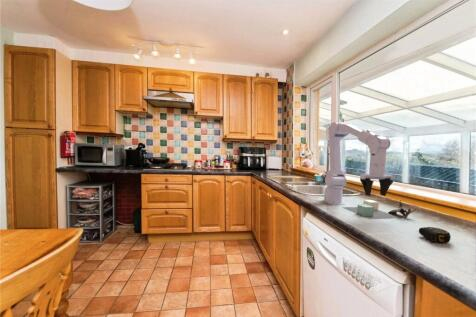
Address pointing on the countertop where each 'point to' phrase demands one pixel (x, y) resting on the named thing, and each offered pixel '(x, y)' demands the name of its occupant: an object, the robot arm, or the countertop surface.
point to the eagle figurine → (402, 210)
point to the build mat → (376, 214)
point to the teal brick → (365, 210)
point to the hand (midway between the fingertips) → (375, 195)
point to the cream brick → (372, 203)
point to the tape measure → (435, 234)
